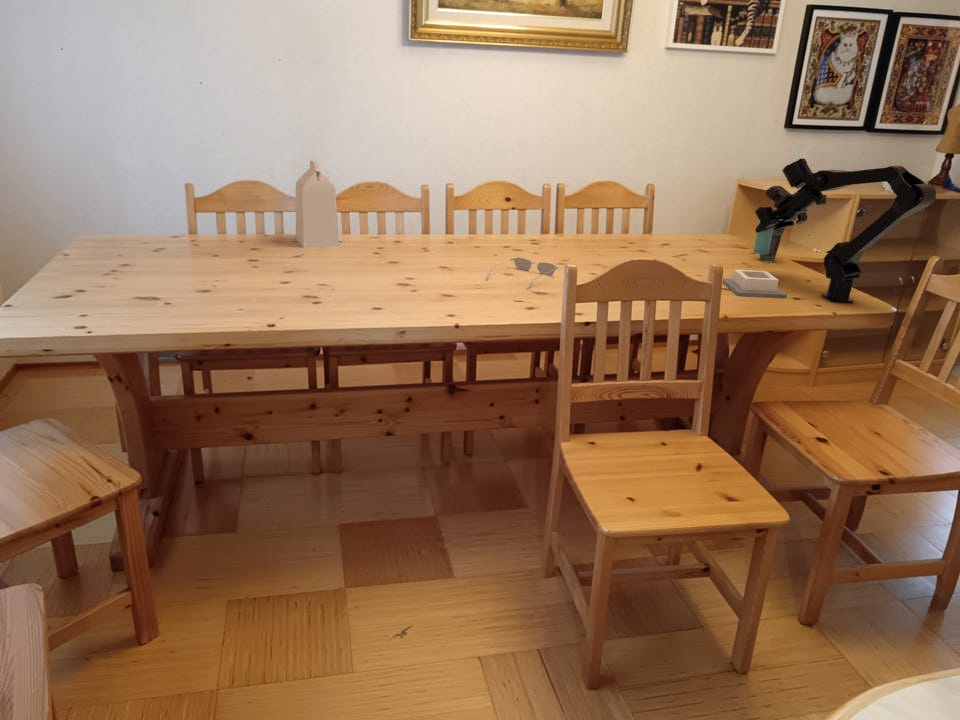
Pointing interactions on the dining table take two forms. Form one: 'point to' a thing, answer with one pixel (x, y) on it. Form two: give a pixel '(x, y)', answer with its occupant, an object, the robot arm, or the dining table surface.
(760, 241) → the peg
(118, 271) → the dining table surface
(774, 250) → the beverage cup
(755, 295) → the socket block
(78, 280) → the dining table surface
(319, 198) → the milk
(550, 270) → the eyeglasses
